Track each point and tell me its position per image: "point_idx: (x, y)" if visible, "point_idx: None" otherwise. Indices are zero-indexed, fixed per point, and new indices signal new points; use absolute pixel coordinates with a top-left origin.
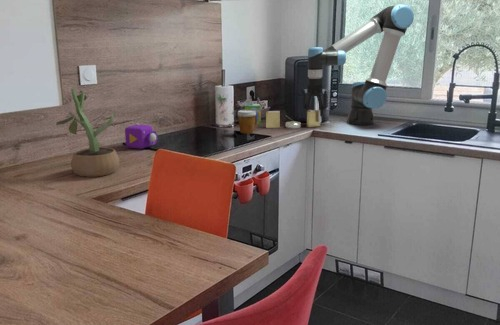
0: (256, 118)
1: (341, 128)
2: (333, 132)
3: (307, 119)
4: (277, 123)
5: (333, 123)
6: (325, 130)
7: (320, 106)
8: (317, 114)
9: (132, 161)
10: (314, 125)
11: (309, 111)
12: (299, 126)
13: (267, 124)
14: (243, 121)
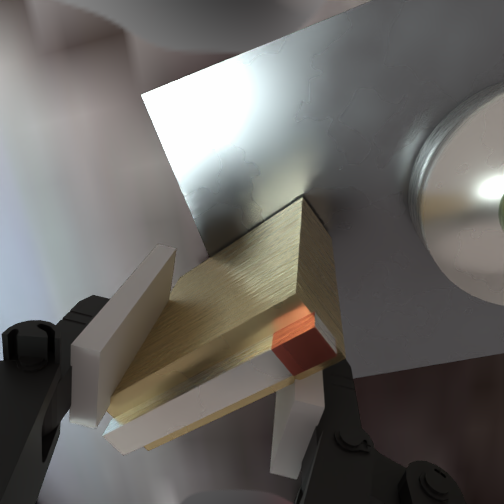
0: None
1: (4, 300)
2: (7, 71)
3: (327, 268)
4: None
5: (122, 479)
6: (116, 177)
7: (5, 413)
8: (164, 344)
9: None
10: (236, 244)
11: (293, 329)
12: (436, 139)
13: None
14: None
